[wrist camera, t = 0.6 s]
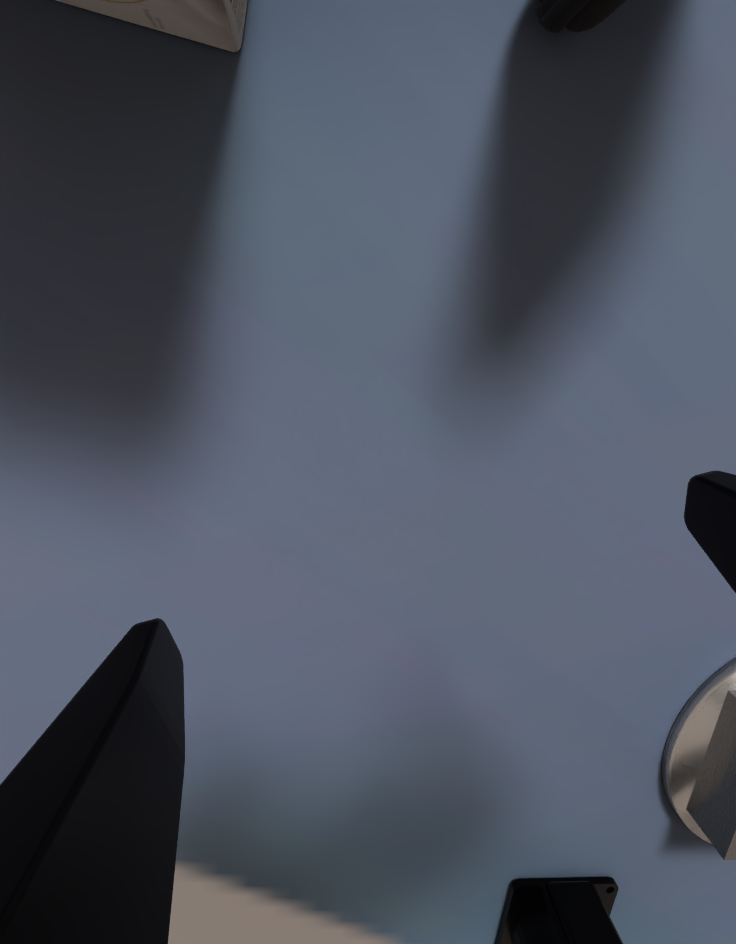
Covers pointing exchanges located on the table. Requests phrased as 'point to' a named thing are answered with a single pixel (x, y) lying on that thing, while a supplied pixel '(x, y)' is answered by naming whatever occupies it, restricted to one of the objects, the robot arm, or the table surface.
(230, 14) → the coffee box
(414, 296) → the table surface
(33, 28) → the table surface
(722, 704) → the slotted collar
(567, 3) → the carrying case or bag
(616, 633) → the table surface
